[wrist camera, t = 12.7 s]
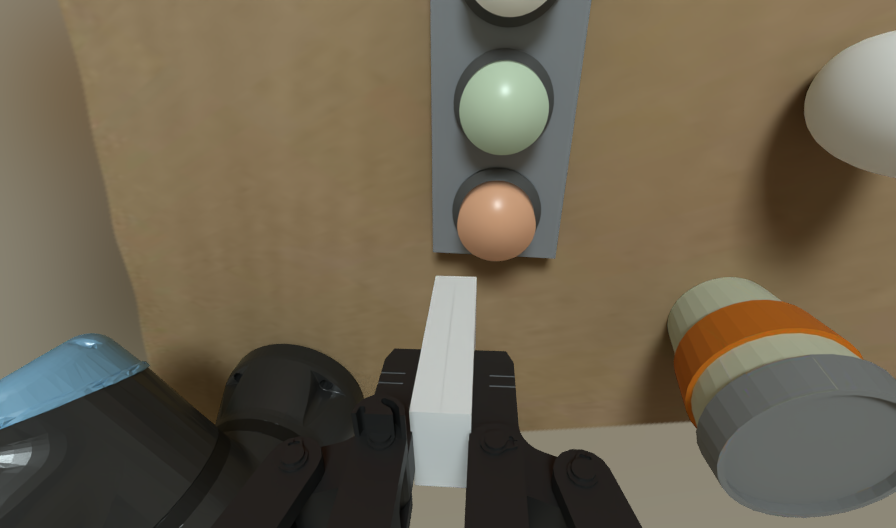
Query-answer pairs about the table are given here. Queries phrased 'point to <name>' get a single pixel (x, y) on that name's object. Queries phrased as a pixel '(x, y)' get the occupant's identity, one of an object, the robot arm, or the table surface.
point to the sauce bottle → (857, 105)
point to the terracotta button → (496, 221)
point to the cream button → (510, 6)
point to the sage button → (504, 107)
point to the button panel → (546, 160)
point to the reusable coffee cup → (782, 402)
